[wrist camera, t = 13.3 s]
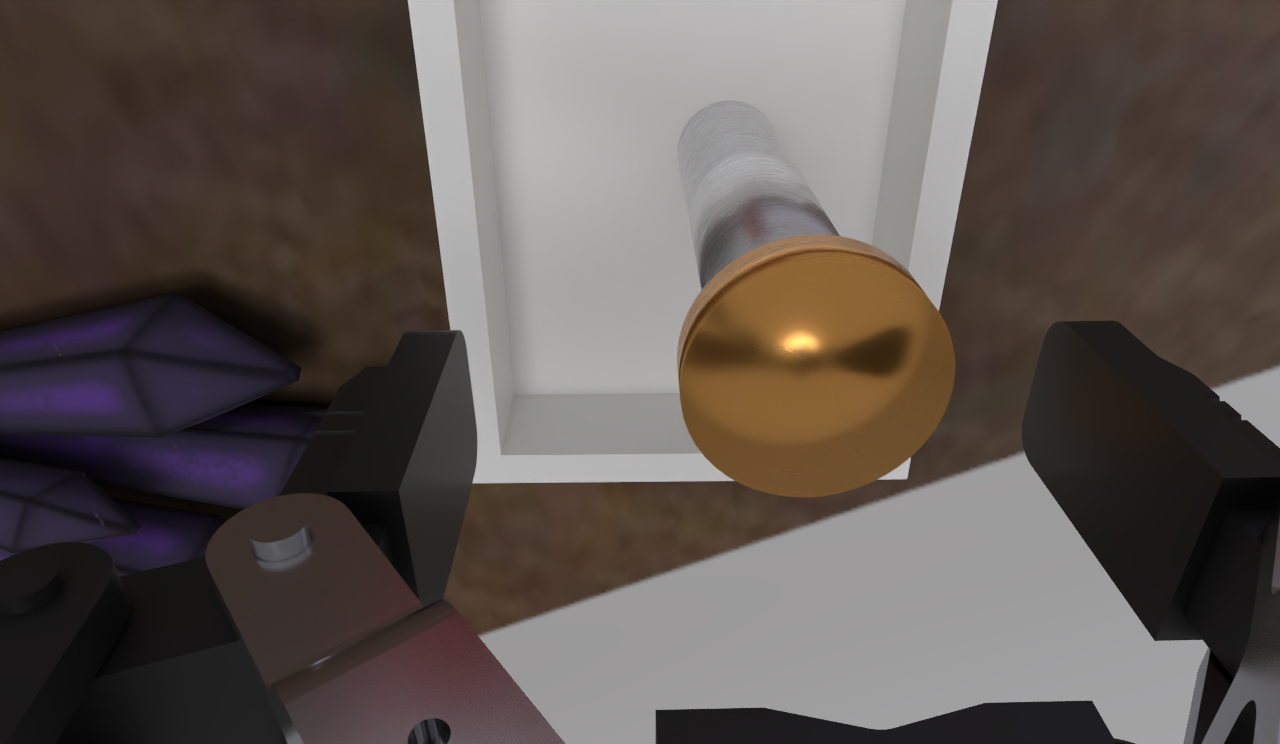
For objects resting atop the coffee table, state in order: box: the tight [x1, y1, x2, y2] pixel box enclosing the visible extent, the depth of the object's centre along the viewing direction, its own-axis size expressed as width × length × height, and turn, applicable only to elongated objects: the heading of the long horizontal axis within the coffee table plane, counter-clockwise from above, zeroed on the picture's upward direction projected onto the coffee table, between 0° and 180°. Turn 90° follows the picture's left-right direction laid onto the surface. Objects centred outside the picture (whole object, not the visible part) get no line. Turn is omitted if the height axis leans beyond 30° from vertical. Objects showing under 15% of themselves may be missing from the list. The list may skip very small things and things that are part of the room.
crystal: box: [0, 292, 328, 577], centre depth 26 cm, size 7×12×20 cm
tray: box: [408, 0, 998, 483], centre depth 22 cm, size 18×13×4 cm
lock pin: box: [677, 100, 955, 497], centre depth 18 cm, size 4×4×13 cm
